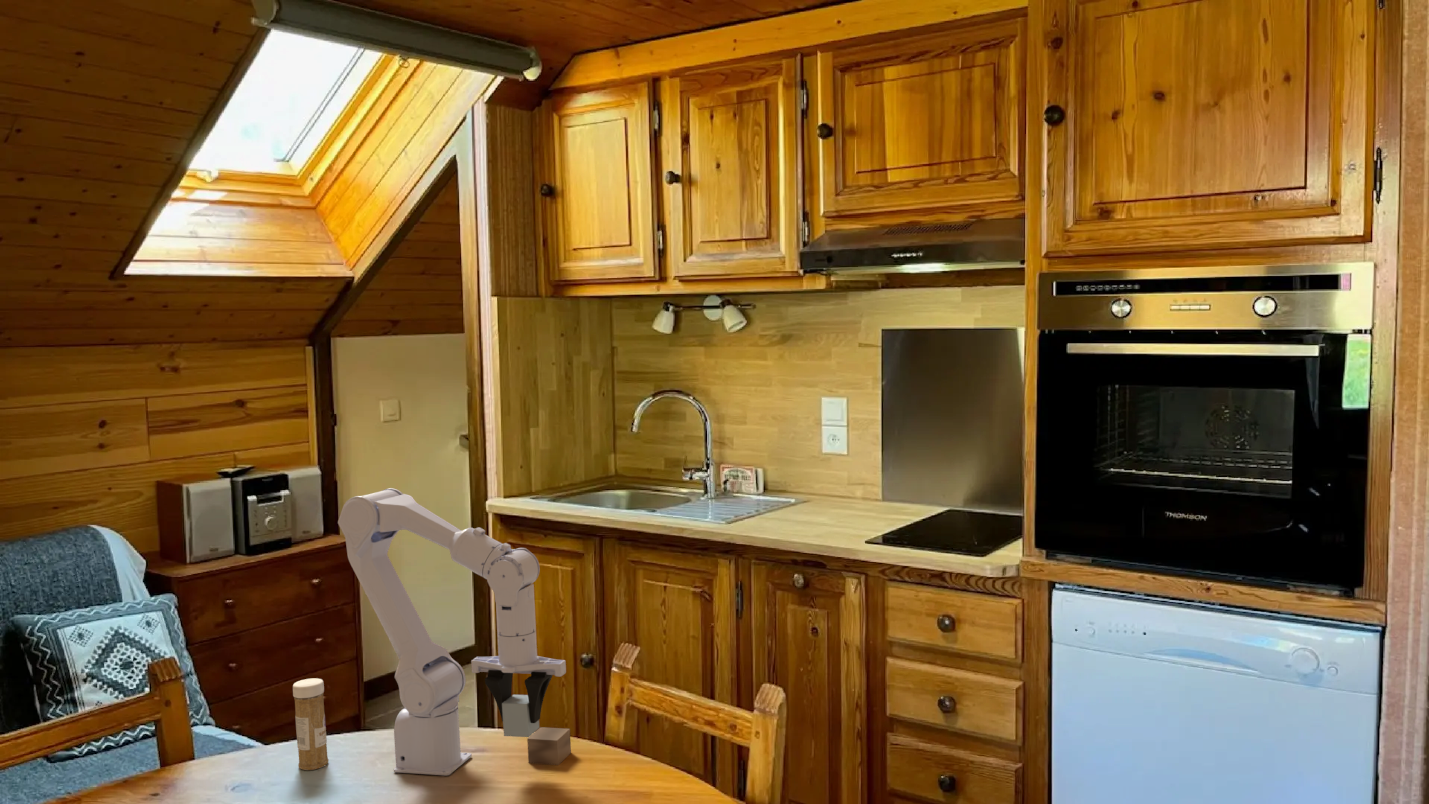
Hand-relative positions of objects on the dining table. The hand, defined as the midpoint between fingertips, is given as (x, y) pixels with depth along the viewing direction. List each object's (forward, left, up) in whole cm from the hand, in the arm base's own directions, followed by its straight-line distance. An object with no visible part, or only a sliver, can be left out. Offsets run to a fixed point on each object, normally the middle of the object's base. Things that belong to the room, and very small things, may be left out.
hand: (521, 720), depth 164 cm
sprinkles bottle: (-35, -2, -9) cm, 36 cm away
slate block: (0, 0, -2) cm, 2 cm away
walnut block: (+2, +6, -8) cm, 11 cm away
